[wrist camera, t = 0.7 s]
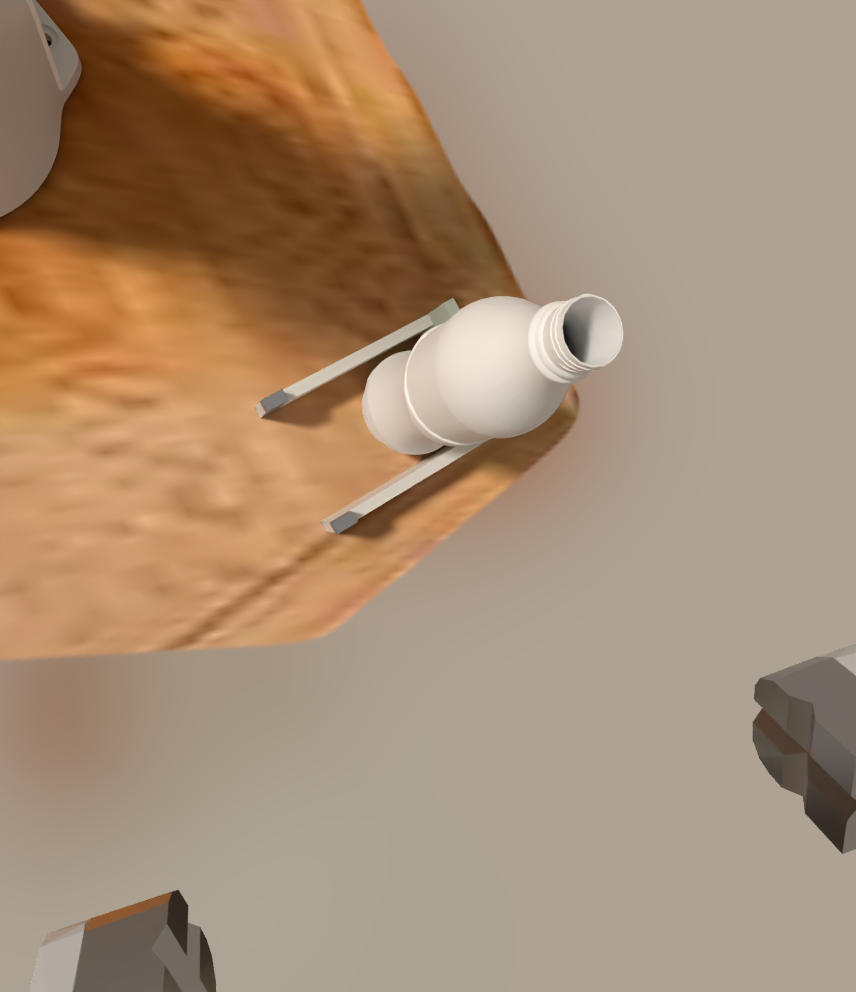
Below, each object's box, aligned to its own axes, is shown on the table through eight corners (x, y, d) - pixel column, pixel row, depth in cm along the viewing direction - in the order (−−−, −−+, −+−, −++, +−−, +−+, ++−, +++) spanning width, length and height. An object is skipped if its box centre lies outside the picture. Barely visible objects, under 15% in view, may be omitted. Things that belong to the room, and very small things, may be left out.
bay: (254, 407, 48) (265, 395, 43) (423, 319, 52) (453, 297, 47) (325, 531, 50) (345, 534, 44) (483, 435, 54) (520, 428, 48)
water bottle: (460, 437, 53) (687, 386, 30) (375, 471, 51) (548, 446, 28) (426, 346, 53) (633, 221, 29) (338, 377, 50) (486, 268, 27)
